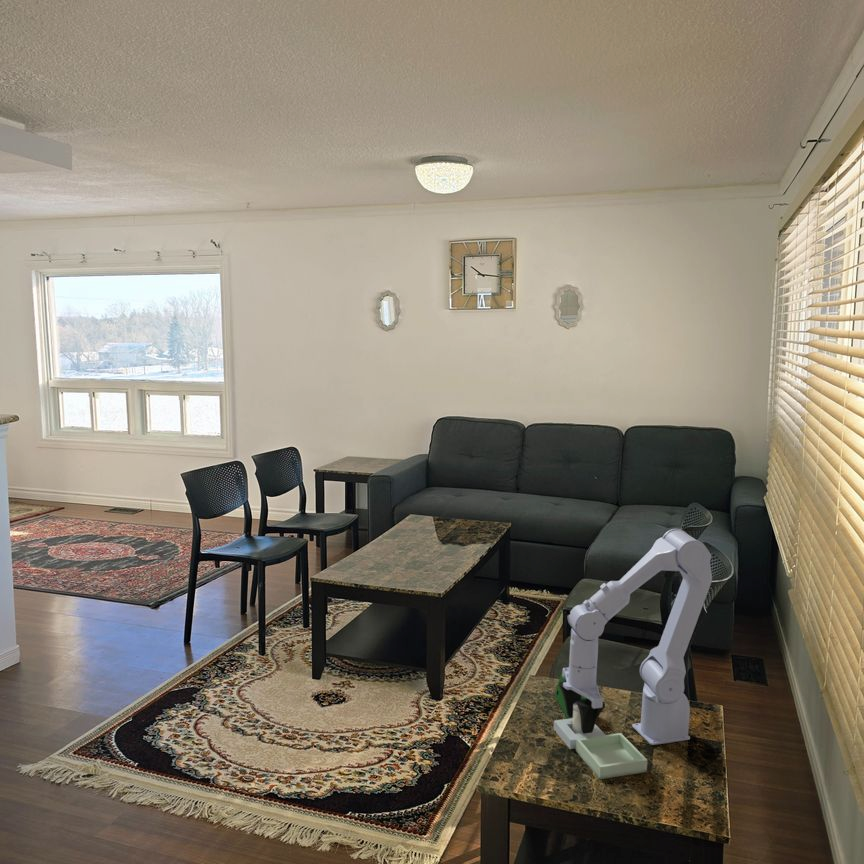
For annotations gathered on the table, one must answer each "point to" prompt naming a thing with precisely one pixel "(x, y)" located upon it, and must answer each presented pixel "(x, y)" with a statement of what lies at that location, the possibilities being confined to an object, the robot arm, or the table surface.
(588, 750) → the parts tray
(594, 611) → the robot arm
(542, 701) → the table surface
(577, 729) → the cylinder
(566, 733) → the grey square frame
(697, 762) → the table surface
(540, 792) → the table surface
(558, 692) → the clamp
